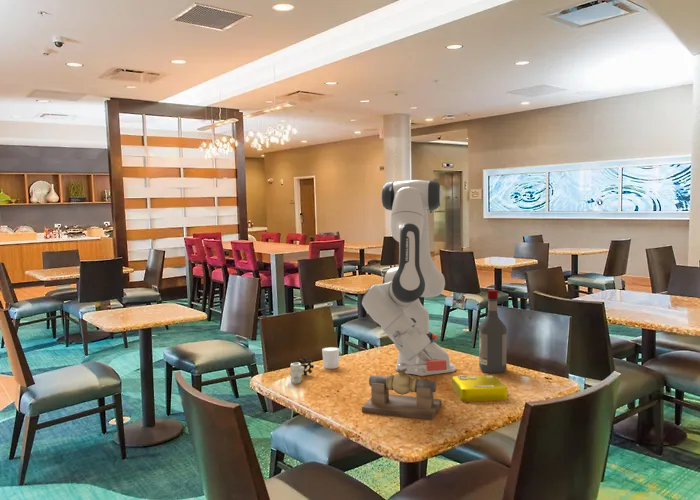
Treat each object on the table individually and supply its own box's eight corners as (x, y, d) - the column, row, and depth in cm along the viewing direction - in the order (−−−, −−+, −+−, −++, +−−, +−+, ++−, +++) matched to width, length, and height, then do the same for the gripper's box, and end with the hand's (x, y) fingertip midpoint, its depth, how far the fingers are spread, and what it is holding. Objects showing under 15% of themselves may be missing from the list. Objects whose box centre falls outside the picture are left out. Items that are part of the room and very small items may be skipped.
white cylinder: (326, 369, 211) (326, 351, 210) (319, 365, 217) (319, 348, 216) (342, 367, 214) (342, 349, 213) (335, 363, 220) (334, 346, 220)
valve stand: (376, 397, 177) (375, 362, 177) (441, 404, 170) (441, 367, 169) (361, 411, 164) (361, 374, 164) (431, 419, 157) (431, 380, 156)
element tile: (462, 403, 172) (462, 387, 172) (450, 388, 187) (450, 374, 187) (509, 401, 173) (509, 386, 173) (493, 386, 188) (493, 373, 188)
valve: (302, 384, 193) (314, 375, 204) (302, 365, 192) (313, 357, 204) (285, 383, 194) (297, 374, 206) (284, 364, 194) (297, 356, 206)
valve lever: (443, 367, 170) (443, 358, 170) (446, 370, 167) (446, 361, 167) (396, 370, 168) (395, 361, 168) (398, 373, 165) (398, 363, 165)
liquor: (502, 366, 212) (502, 288, 210) (507, 373, 202) (507, 292, 201) (478, 366, 212) (478, 289, 211) (482, 373, 203) (482, 292, 202)
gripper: (398, 328, 163) (431, 364, 160) (415, 317, 182) (444, 349, 179) (383, 342, 165) (415, 378, 162) (402, 329, 184) (431, 361, 181)
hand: (431, 362), depth 171 cm, fingers closed
